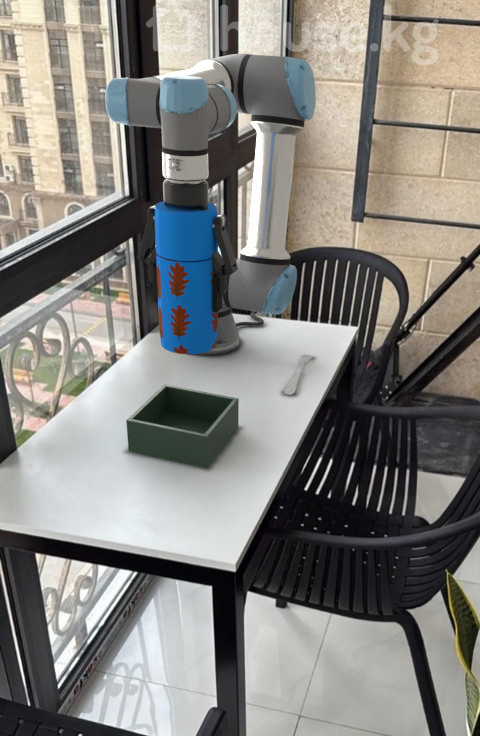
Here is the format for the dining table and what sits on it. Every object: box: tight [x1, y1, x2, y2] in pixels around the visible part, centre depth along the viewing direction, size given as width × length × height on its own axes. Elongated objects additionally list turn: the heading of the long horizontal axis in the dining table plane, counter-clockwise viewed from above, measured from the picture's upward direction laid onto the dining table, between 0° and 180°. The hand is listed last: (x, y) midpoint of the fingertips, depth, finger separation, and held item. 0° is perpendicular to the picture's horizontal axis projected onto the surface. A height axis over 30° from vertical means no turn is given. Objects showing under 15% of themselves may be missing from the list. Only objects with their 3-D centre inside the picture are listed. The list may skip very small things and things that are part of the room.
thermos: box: [155, 200, 219, 355], centre depth 135 cm, size 11×11×25 cm
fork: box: [283, 355, 313, 396], centre depth 175 cm, size 3×21×3 cm, turn 167°
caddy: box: [125, 383, 240, 469], centre depth 146 cm, size 16×16×7 cm
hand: (188, 305), depth 137 cm, fingers closed on thermos, 11 cm apart
